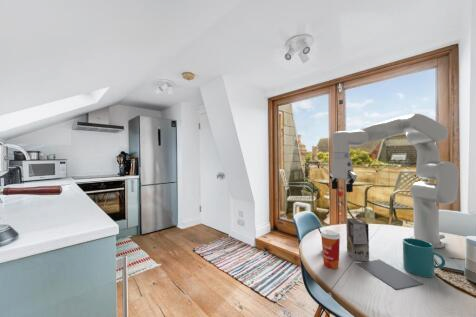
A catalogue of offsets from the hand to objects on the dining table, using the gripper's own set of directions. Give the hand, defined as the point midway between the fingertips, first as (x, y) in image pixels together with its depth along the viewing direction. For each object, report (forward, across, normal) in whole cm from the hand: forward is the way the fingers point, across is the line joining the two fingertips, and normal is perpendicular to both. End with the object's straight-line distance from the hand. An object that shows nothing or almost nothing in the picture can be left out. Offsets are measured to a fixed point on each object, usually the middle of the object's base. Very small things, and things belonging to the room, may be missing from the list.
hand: (341, 190), depth 98 cm
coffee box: (+29, -8, 0) cm, 30 cm away
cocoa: (+29, -1, +9) cm, 31 cm away
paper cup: (+29, -12, +17) cm, 36 cm away
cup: (+29, -26, -14) cm, 41 cm away
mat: (+29, -22, 0) cm, 37 cm away
